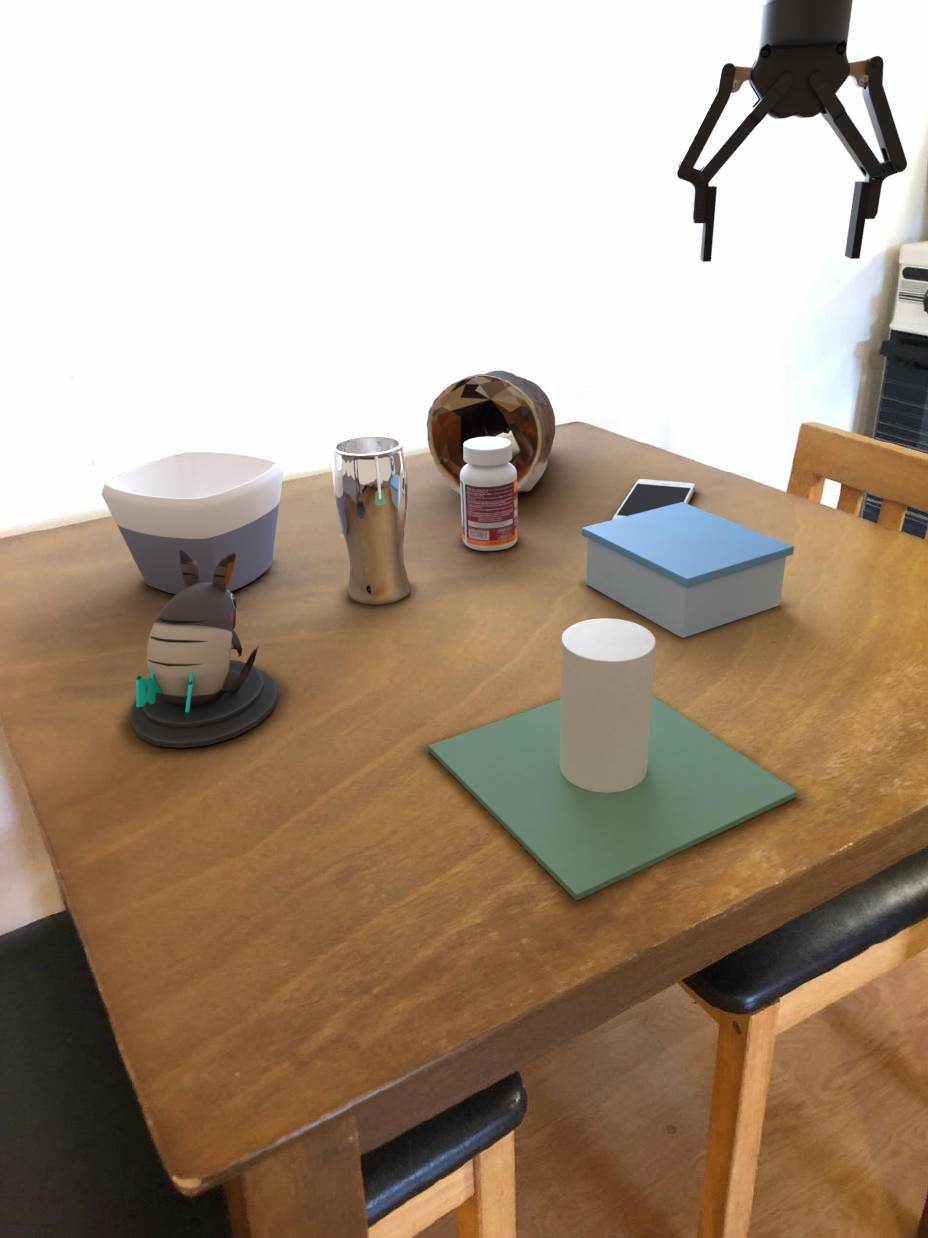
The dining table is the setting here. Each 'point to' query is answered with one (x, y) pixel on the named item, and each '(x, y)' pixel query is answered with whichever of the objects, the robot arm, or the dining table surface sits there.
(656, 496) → the smartphone
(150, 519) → the bowl
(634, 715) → the white canister
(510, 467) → the pill bottle
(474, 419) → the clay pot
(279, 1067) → the dining table surface
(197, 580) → the figurine
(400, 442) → the beer glass
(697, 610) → the storage box
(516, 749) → the mat
